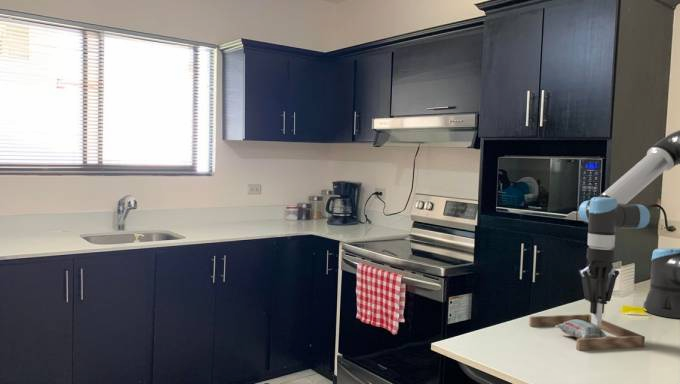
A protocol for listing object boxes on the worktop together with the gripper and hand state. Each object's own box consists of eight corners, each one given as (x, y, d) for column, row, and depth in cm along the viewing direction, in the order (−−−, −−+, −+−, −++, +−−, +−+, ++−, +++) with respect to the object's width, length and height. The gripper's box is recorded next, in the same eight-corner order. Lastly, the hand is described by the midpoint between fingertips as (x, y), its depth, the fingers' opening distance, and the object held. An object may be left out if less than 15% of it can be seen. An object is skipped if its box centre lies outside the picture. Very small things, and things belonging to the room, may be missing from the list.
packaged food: (583, 345, 158) (585, 328, 158) (553, 332, 169) (555, 316, 169) (606, 343, 161) (608, 326, 161) (575, 330, 172) (577, 315, 172)
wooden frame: (587, 323, 183) (588, 314, 182) (644, 346, 159) (644, 336, 159) (529, 325, 177) (529, 316, 177) (578, 350, 154) (579, 339, 154)
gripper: (609, 245, 173) (605, 319, 174) (574, 245, 170) (569, 321, 171) (627, 249, 166) (623, 326, 167) (590, 249, 163) (586, 328, 164)
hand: (596, 323), depth 169 cm, fingers closed
